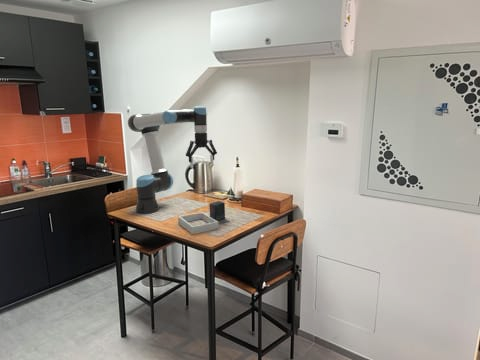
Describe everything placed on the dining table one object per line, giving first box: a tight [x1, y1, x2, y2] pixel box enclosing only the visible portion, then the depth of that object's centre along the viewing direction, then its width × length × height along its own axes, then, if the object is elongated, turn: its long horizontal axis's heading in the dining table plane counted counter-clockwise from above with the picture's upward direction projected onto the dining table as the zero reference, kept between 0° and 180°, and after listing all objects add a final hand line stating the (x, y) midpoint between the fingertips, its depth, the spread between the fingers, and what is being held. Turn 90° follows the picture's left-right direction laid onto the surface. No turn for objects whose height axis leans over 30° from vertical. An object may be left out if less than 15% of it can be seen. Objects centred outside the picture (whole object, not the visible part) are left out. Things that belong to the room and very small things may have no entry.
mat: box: [218, 217, 230, 225], centre depth 212 cm, size 12×10×1 cm
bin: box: [177, 211, 220, 235], centre depth 203 cm, size 22×16×4 cm
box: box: [209, 200, 226, 221], centre depth 211 cm, size 8×6×11 cm
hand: (202, 166), depth 216 cm, fingers open, 13 cm apart
